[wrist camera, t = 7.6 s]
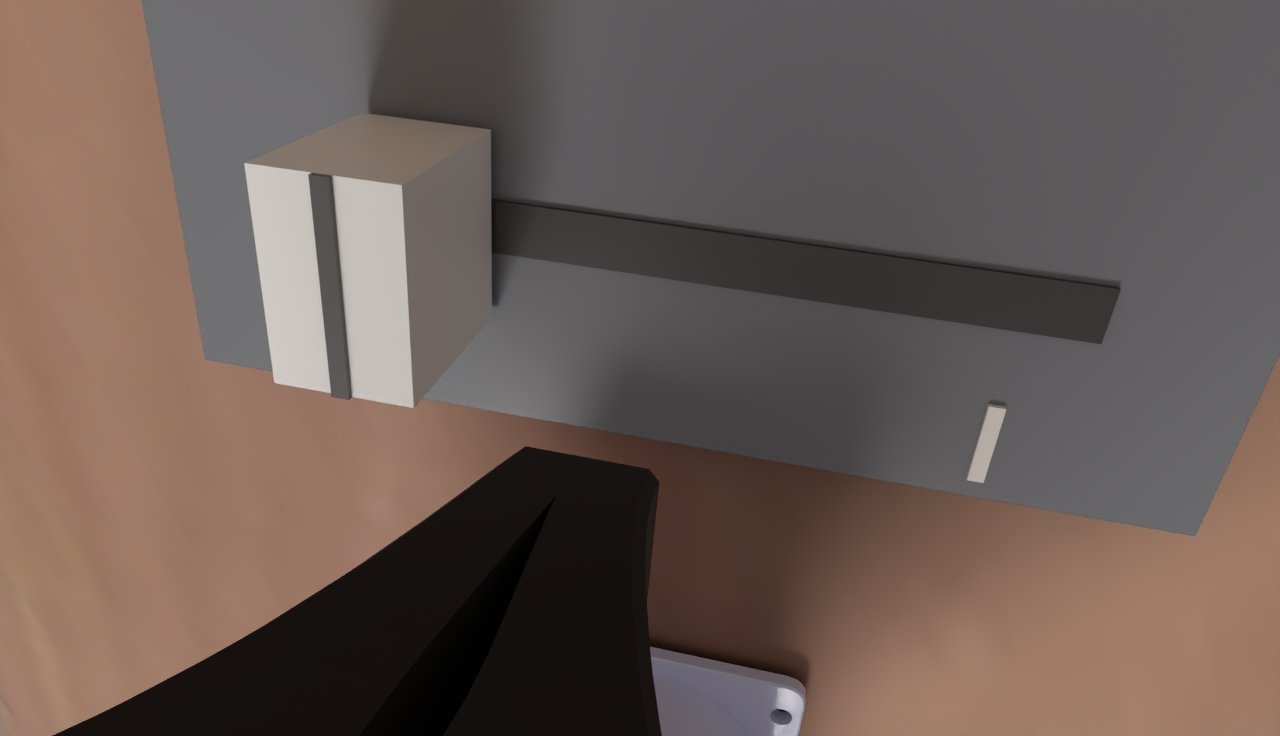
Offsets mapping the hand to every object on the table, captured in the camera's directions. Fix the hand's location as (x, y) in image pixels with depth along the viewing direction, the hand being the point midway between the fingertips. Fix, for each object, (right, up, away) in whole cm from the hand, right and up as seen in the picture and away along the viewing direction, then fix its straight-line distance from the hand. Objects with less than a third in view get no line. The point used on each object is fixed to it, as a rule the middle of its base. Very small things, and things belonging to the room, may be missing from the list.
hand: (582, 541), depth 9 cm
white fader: (-3, +4, +8) cm, 9 cm away
